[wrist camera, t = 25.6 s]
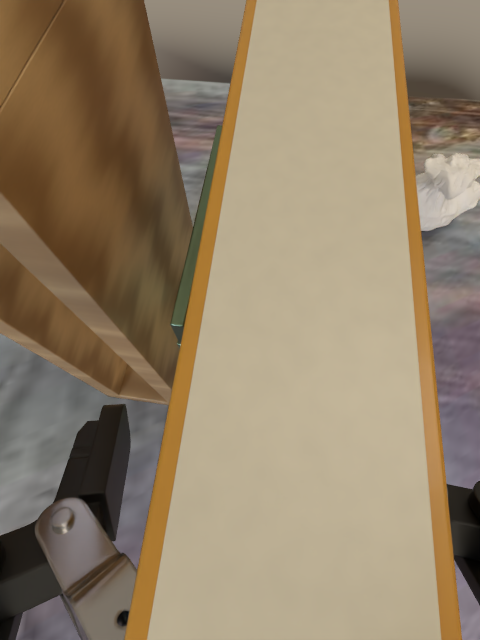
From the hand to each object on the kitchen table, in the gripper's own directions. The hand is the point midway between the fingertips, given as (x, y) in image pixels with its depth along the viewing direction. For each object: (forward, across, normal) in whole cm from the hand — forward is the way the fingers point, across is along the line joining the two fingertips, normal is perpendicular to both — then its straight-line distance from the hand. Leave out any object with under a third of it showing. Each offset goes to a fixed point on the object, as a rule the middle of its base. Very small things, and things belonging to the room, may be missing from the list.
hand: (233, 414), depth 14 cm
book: (+5, -3, -1) cm, 5 cm away
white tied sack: (+31, -26, 0) cm, 40 cm away
